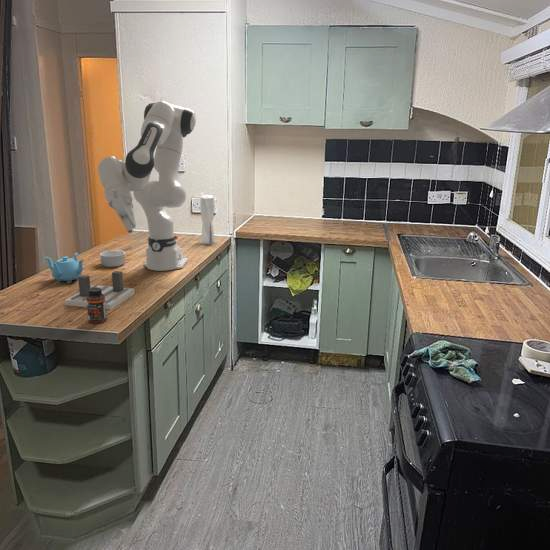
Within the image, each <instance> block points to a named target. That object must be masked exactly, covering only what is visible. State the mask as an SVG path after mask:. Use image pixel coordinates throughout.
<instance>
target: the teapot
mask: <svg viewBox="0 0 550 550" xmlns="http://www.w3.org/2000/svg"><path fill="white" fill-rule="evenodd" d="M78 254H79V252H75V253H74V255H73V258H72V257H70V258H69V256H62V257H61V258H59V259H57V260H56V261H55V262H53V260H52V258H51V257H49V256H44V258H45V259H46V260H47V261H48V267H49V269H50V271H51V276H52V278H54V279H55V280H56V283H61V282H62V281H63V282H64V281H66V284H72V283H73V281H74V280H75V281H76V280H77V281H78V277H79V276H81V275H82V273H83V270H84V267H83V261H84V260H85V259H84V258H83V259H80V260H79V261H78ZM72 280H73V281H72Z"/></svg>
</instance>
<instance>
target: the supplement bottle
mask: <svg viewBox="0 0 550 550" xmlns="http://www.w3.org/2000/svg"><path fill="white" fill-rule="evenodd" d="M86 301H87V307H86V310H87V320H88V321H87V322H89V323H90V324H101V323H104V322H105V321H106V320H107V310H106V305H105V296H104V295H103V294H102V291H101V288H97V287H96V288H90V289H89V295H88V296H87V297H86Z"/></svg>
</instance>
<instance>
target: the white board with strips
mask: <svg viewBox="0 0 550 550" xmlns="http://www.w3.org/2000/svg"><path fill="white" fill-rule="evenodd" d="M96 287H97V288H101V291H102V294H103V295H104V296H105V305H106V311H107V310H108V311H112V310H113V309H114V308H116V307H117V306H119V305H120V304H121V303H123V302H125V301H126V300H127V299H129V298H130V297H132V296H133V295H135V292H136V291H135V288H130V287H123V288H124V290H122V291H120V292H113V286H109V285H99V284H90V288H96ZM64 304H65V306H69V307H70V306H71V307H79V308H80V307H81V308H87V301H86V297H83V296H80V292H77V293H75V294H73V295H71V296H70V297H68V298H66V299H65V300H64Z"/></svg>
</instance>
